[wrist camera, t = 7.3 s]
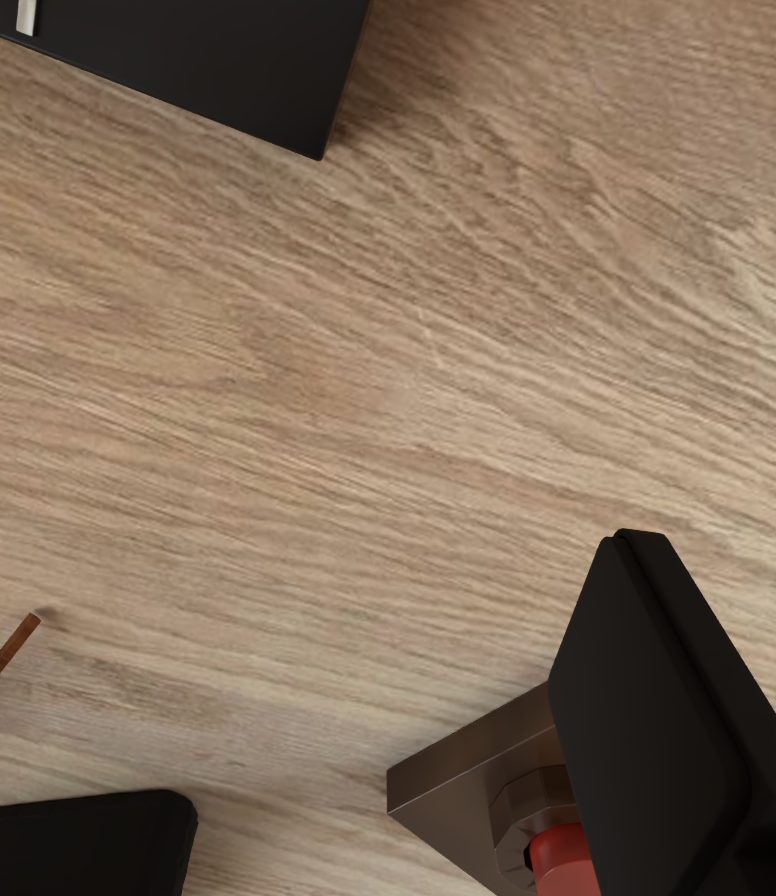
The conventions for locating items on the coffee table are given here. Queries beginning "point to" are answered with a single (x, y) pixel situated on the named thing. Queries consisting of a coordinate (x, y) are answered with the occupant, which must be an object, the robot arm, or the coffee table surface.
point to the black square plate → (212, 56)
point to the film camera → (97, 846)
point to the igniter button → (563, 862)
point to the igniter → (488, 793)
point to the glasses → (18, 639)
